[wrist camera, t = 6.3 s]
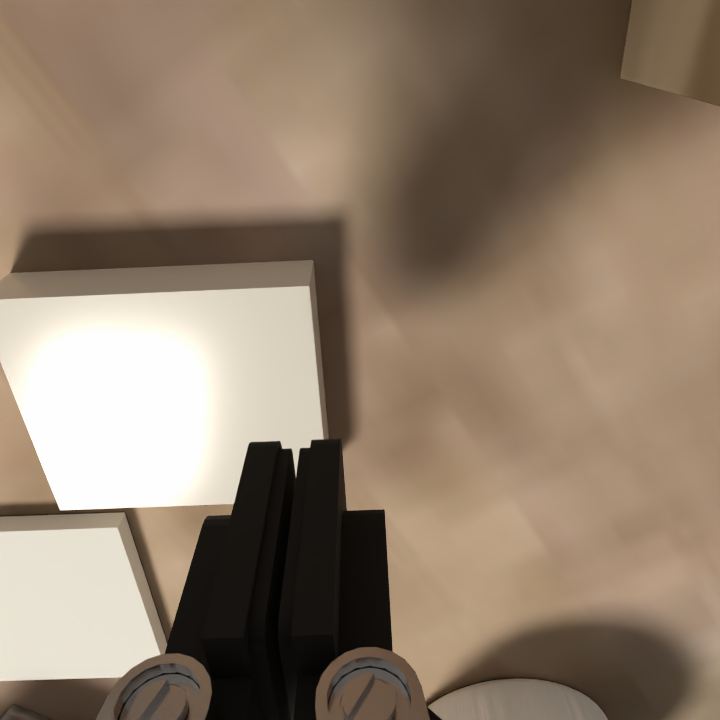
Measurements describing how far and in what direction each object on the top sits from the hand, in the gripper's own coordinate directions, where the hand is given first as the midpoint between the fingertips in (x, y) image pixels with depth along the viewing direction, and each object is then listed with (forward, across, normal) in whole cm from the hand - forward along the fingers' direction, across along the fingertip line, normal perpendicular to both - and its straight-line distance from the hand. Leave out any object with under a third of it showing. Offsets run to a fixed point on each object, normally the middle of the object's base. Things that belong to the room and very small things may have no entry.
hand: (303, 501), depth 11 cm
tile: (+4, 0, 0) cm, 4 cm away
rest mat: (+5, +11, +8) cm, 14 cm away
